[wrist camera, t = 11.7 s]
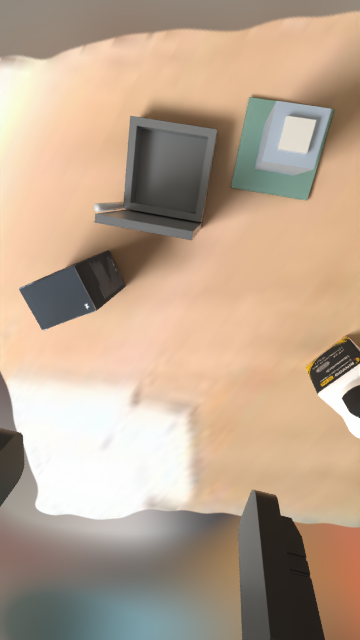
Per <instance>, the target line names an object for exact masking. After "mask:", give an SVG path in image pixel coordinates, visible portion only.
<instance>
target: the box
mask: <svg viewBox="0 0 360 640" xmlns="http://www.w3.org/2000/svg"><path fill="white" fill-rule="evenodd" d="M123 288H125V283H124V281H123V279H122V277H121V274H120V272H119V270H118V268H117V266H116V263H115V261H114V259H113V257H112V255H111V252H110V251H109V250H108V251H105V252H103V253H100V254H98V255H96V256H93V257H91V258H88V259H86V260H83V261H81V262H78V263H76V264H74V265H71V266H69V267H66V268H64V269H62V270H59V271H57V272H55V273H52V274H50V275H48V276H46V277H43V278H41V279H39V280H36V281H34V282H32V283H30V284H27V285H25V286H23V287H21V288H19V290H20V292H21V294H22V295H23V297H24V299H25V301H26V303H27V304H28V306H29V308H30V310H31V311H32V313H33V315H34V316H35V318H36V320H37V322H38V323H39V325H40V327H41V329H42V330H46V329H48V328H51V327H53V326H56V325H59V324H61V323H64V322H66V321H69V320H72V319H75V318H77V317H80V316H83V315H86V314H89V313H92V312H95V311H97V310H98V309H99V308H100V307H102V306H103V305H104V304H105V303H106V302H108V301H109V300H110V299H111V298H112V297H114V296H115V295H116V294H117V293H118V292H120V291H121V290H122V289H123Z"/></svg>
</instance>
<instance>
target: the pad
mask: <svg viewBox="0 0 360 640" xmlns="http://www.w3.org/2000/svg"><path fill="white" fill-rule="evenodd" d="M275 103H276V101H272V100H265V99H258V98H252V97H249V102H248V107H247V112H246V117H245V121H244V126H243V131H242V136H241V141H240V146H239V151H238V156H237V160H236V165H235V170H234V175H233V180H232V185H231V188H236V189H242V190H248V191H254V192H260V193H266V194H272V195H278V196H284V197H290V198H296V199H302V200H307V199H308V196H309V192H310V189H311V186H312V182H313V179H314V176H315V172H316V169H317V166H318V162H319V159H320V156H321V152H322V149H323V146H324V143H325V139H326V136H327V133H328V129H329V126H330V123H331V119H332V116H333V113H334V110H333V109H332V110H331V113H330V116H329V120H328V123H327V126H326V130H325V133H324V136H323V140H322V143H321V146H320V150H319V153H318V156H317V160H316V163H315V167H314V170H310V171H307V172H304V173H300V174H297V175H294V176H292V175H286V174H280V173H274V172H268V171H262V170H256V169H254V168H255V163H256V159H257V154H258V150H259V146H260V141H261V137H262V132H263V128H264V124H265V122H266V120H267V118H268V116H269V114H270V112H271V110H272V108H273V107H274V105H275Z"/></svg>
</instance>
